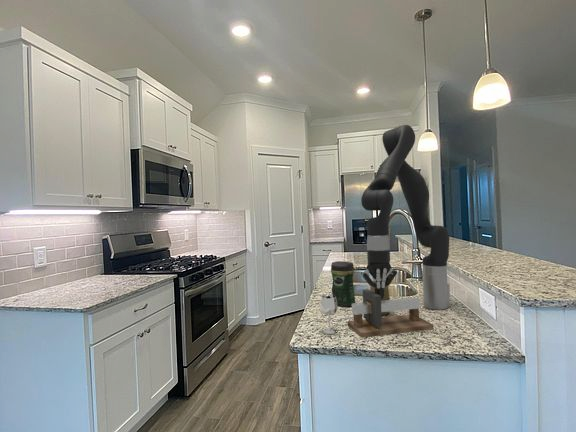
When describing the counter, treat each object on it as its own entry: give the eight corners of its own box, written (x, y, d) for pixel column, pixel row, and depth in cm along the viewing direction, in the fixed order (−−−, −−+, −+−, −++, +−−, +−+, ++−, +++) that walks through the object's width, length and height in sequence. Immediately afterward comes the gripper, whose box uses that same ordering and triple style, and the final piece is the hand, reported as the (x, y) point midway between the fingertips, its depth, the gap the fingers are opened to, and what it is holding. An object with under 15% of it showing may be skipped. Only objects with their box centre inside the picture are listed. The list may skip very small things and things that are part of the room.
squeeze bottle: (376, 308, 141) (375, 265, 141) (394, 312, 136) (393, 267, 135) (365, 313, 136) (364, 268, 135) (383, 318, 130) (382, 270, 129)
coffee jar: (358, 303, 150) (356, 260, 149) (349, 308, 143) (347, 263, 143) (338, 300, 156) (337, 259, 155) (329, 304, 149) (327, 262, 149)
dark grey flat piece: (368, 317, 124) (367, 289, 124) (381, 326, 114) (381, 296, 114) (363, 317, 124) (362, 289, 123) (376, 326, 114) (375, 296, 113)
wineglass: (334, 335, 114) (332, 299, 114) (318, 332, 117) (317, 297, 117) (340, 330, 119) (339, 295, 118) (325, 327, 122) (324, 293, 122)
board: (413, 318, 129) (413, 302, 129) (433, 329, 117) (433, 311, 117) (347, 325, 123) (347, 308, 123) (361, 337, 112) (360, 319, 112)
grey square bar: (414, 306, 124) (414, 296, 124) (420, 309, 121) (420, 299, 120) (351, 312, 119) (351, 302, 119) (355, 315, 116) (355, 305, 116)
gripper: (390, 246, 124) (391, 294, 124) (355, 248, 121) (357, 297, 121) (401, 248, 116) (402, 299, 117) (365, 250, 114) (366, 303, 114)
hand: (379, 298), depth 119 cm, fingers closed
